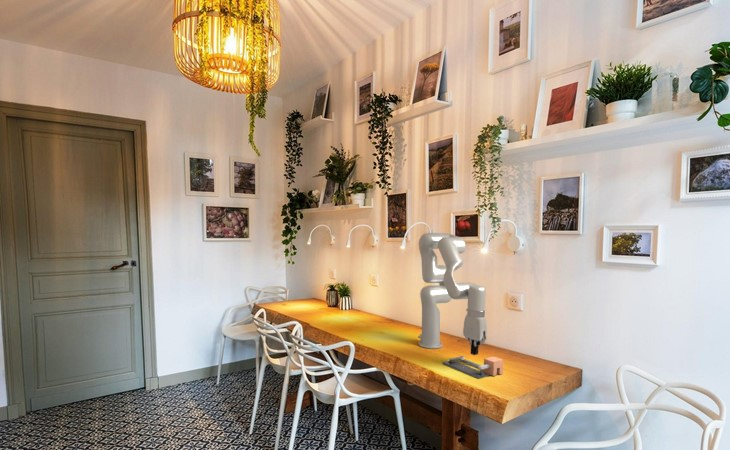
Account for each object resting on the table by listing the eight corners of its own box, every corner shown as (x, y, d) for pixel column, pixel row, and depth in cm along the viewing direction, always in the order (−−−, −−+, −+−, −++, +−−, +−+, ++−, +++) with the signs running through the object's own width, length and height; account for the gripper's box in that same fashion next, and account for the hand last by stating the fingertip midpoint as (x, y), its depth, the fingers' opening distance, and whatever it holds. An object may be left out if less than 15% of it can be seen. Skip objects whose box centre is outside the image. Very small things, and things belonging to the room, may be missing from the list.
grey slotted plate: (446, 362, 173) (446, 358, 174) (460, 359, 178) (460, 355, 178) (482, 377, 156) (482, 372, 156) (497, 374, 160) (497, 368, 160)
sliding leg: (474, 374, 159) (475, 360, 159) (493, 369, 165) (493, 356, 165) (484, 378, 154) (484, 364, 155) (502, 373, 160) (503, 359, 161)
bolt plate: (442, 363, 172) (442, 361, 172) (452, 361, 175) (452, 359, 175) (478, 378, 154) (478, 376, 154) (488, 376, 157) (488, 374, 158)
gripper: (457, 310, 174) (456, 350, 175) (483, 318, 162) (481, 361, 162) (469, 309, 178) (467, 348, 179) (495, 316, 166) (493, 358, 166)
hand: (474, 354), depth 170 cm, fingers closed
